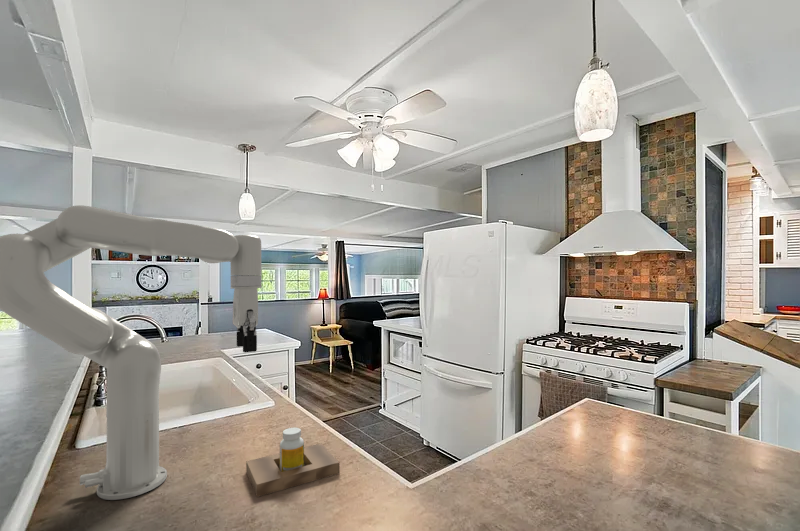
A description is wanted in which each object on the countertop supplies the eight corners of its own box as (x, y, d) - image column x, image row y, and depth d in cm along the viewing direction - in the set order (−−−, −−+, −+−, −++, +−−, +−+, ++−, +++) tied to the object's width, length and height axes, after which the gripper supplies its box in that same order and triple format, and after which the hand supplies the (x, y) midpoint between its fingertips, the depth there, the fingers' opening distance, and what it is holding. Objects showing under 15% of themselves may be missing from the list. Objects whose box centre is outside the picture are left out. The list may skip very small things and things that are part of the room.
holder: (256, 497, 80) (256, 484, 81) (246, 472, 91) (246, 461, 91) (339, 473, 90) (339, 462, 90) (321, 453, 100) (321, 443, 100)
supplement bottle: (275, 472, 91) (275, 430, 91) (297, 465, 94) (297, 424, 94) (285, 481, 86) (285, 437, 87) (308, 473, 90) (307, 431, 90)
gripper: (226, 282, 108) (226, 345, 108) (235, 283, 93) (236, 356, 93) (254, 282, 112) (254, 342, 112) (268, 282, 97) (268, 352, 97)
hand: (246, 348), depth 102 cm, fingers open, 9 cm apart
